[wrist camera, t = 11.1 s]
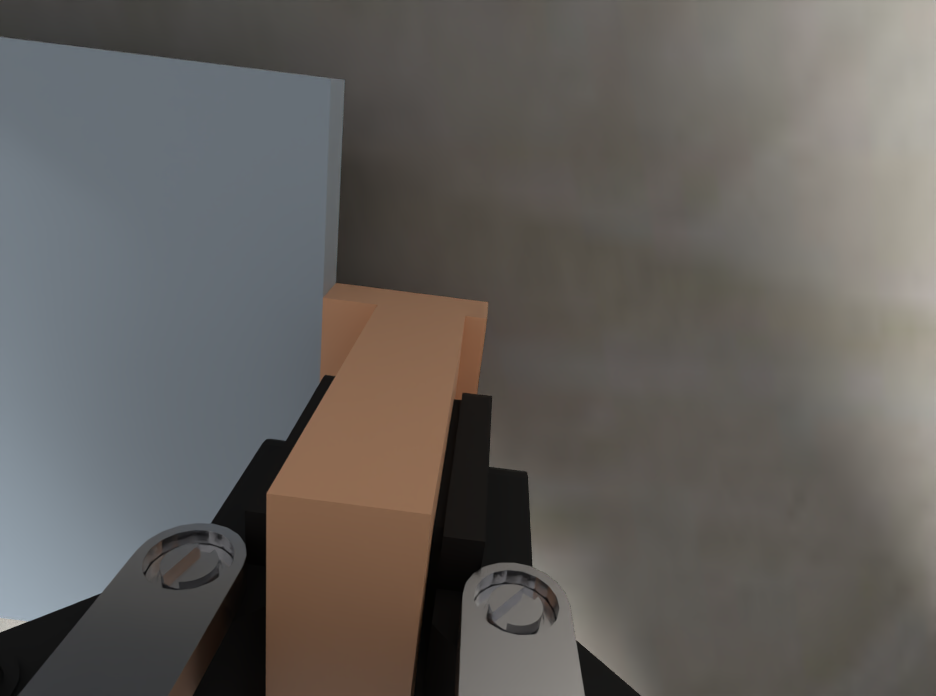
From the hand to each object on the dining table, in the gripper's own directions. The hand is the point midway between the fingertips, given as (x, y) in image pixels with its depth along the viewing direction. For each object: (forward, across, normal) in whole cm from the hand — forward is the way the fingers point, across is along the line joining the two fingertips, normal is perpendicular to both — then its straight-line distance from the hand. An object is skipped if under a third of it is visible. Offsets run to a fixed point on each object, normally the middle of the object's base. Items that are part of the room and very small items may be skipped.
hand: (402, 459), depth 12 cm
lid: (+2, +10, 0) cm, 10 cm away
